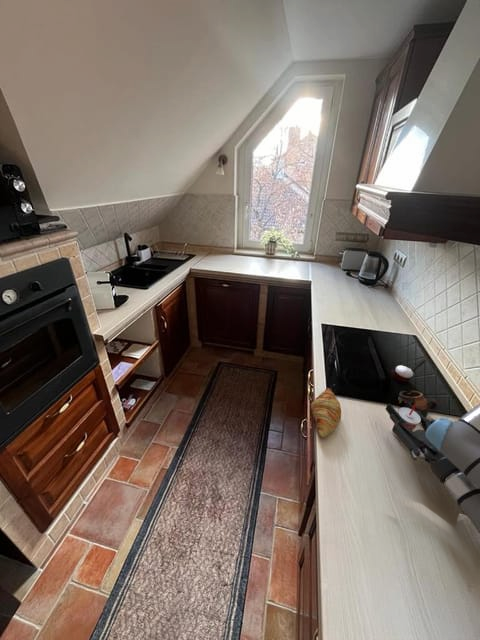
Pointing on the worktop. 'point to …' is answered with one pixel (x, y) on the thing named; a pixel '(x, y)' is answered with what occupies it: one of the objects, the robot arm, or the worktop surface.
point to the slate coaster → (421, 434)
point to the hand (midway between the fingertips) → (397, 405)
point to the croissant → (326, 412)
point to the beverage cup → (409, 417)
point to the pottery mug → (418, 401)
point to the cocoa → (405, 372)
